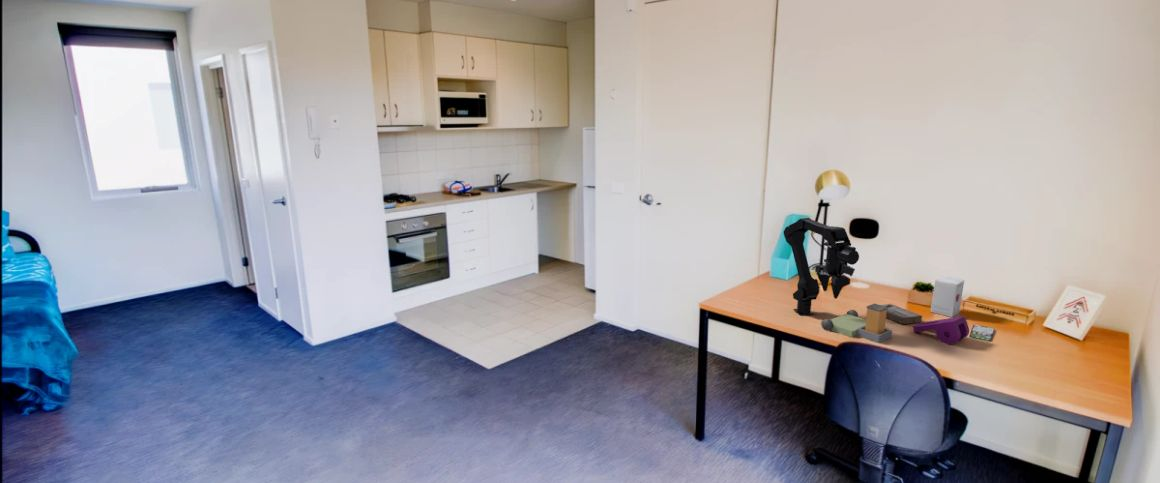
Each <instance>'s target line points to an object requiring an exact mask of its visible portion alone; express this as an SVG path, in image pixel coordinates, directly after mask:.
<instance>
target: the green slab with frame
mask: <svg viewBox="0 0 1160 483" xmlns="http://www.w3.org/2000/svg"><path fill="white" fill-rule="evenodd" d="M820 324H821V328H822V329H823V330H824V331H831V332H835V333H837V334H841V335H843V336H846V337H848V338H853V337H856V336H857V337H860V338H863V339H866V340H868V341H870V342H875V343H877V344H879V343H882V342H884V341H886V340H889V339H891V338H892V334H893V330H892V329H889V328H887V327H885V328H884V333H881V334H879V335H878V334H875V333H872V332H869V331H866V330H865V325H866V318H861V317H859V313H858V312H857V310H855V309H851V310H850V309H849V310H848V311H846V313H845V314H842V315H840V316H837V317H834V318H831V319H830V318H825V319H822V320H821V322H820Z"/></svg>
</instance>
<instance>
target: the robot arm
mask: <svg viewBox="0 0 1160 483" xmlns="http://www.w3.org/2000/svg"><path fill="white" fill-rule="evenodd" d="M808 231H809V232H812V233H815V234H818V235H820V236H821V237H822V239H824V240H825V242H824V243H823V246H826V255H825V256H826V257H825V258H824V259H823V262H824V263H825V264H820V265H819V264H818V265H816V266H815V268H814V272H815V273H816V275H817V278H818V279H817V278H815V279H814V277H813V276H812V274H811V269H810V267H809V263H808V259H807V254H806V250H805V246H804V242H805V240H806V233H808ZM783 236H784V239H785V241H786V243H787V244H788V245H789V246H790V247H791V249H792V250H791V251H792V254H793V259H794V262H795V267H796V270H797V274H798V281H797V286H796V287H797V290H796V291H794V292H793V293H792V298H793V299H794V300H796V301H797V304H796V308H793V311H794V312H795V313H797V315H799V316H809V315H811V316H813V315H814V312H812V311H811V310H812V301H813V300H817V298H818V295H819V293H820V285H821V287H822V290H823V292H827V290H828V286H829V282H830V281H831V282H830V286H831V291H832V295H833V298H834V299H838V297H839V295H840V293H841V292H842V291H843V288H844V287H847V286H849V285H851V279H850V277H853V274H854V272H855V271H856V269H855V268H854V267H852V266H853V265H856V264H857V263H858V261H859V259H860V253H859V252H858V251H857V250H856V249H857V247H855V246H852V242H851V240H850V237H849V235H848V233H847V231H846V229H845V228H844V227H842V226H830V225H827V224H824V223H821V222H820V221H816V220H814V219H812V218H810V217H803V218H802V217H801V218H799V219H798V220H796V221H795V222H793V223H791V224H790V225H787V226H785V228H784V230H783ZM850 265H852V266H850ZM847 275H848V276H847ZM849 276H850V277H849ZM819 282H820V285H819Z"/></svg>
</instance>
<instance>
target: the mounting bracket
mask: <svg viewBox="0 0 1160 483" xmlns="http://www.w3.org/2000/svg"><path fill="white" fill-rule="evenodd" d="M912 329H913V331H914V332H916V333H918V332H925V331H926V332H927V331H932V330H933V331H934V332H935V334H936V337H937V339H938V341H940V342H941V343H944V344H947V345H953V344H955V343H957V342H959V341H960V340H961V341H962V340H963V339H965V338H967V337H969V335H970V327H969V324H968V321H967V318H966V316H964V315H963V316H957V317H955V316H954V317H949V318H948V317H947V318H941V319H937V320H936V319H935V320H934V319H933V320H928V321H924V322H921V323H920V322H918V323H914V325H912Z"/></svg>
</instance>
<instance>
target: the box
mask: <svg viewBox="0 0 1160 483" xmlns="http://www.w3.org/2000/svg"><path fill="white" fill-rule="evenodd" d="M880 305H881V306H885V307H888V309H887V312H886V319H890V320H892V321H895V322H897V323H900V324H901V325H903V324H904V325H911V324H918V323H922V320H923V315H921V314H918V313H916V312H913V311H910V310H908V309H906V308H902V307H900V306H898V305H896V304H893V303H887V304H886V303H885V304H880Z"/></svg>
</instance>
